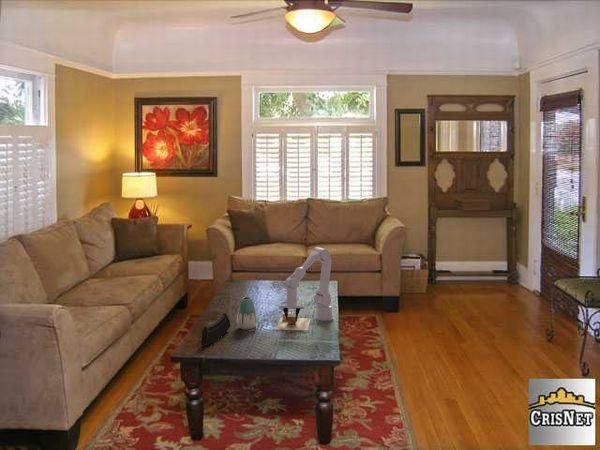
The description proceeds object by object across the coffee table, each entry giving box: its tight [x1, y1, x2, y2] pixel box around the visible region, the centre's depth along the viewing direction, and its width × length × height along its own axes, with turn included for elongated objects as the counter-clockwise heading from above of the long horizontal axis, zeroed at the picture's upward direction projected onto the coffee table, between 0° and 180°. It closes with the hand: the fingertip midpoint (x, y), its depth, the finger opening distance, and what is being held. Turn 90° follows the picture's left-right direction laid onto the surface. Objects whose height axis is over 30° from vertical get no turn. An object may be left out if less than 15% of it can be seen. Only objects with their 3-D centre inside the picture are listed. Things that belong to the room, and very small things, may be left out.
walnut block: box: [287, 314, 296, 324], centre depth 354 cm, size 5×5×4 cm
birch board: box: [275, 316, 312, 331], centre depth 355 cm, size 18×24×1 cm
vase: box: [236, 296, 258, 331], centre depth 349 cm, size 12×12×18 cm
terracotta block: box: [282, 311, 292, 321], centre depth 363 cm, size 5×5×4 cm
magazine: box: [200, 313, 231, 346], centre depth 330 cm, size 17×3×30 cm
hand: (291, 320), depth 354 cm, fingers closed on walnut block, 4 cm apart
